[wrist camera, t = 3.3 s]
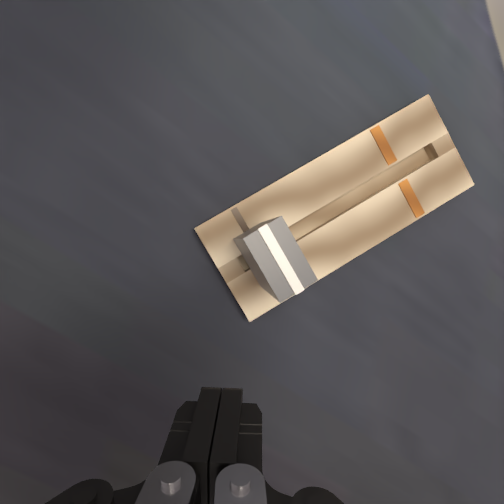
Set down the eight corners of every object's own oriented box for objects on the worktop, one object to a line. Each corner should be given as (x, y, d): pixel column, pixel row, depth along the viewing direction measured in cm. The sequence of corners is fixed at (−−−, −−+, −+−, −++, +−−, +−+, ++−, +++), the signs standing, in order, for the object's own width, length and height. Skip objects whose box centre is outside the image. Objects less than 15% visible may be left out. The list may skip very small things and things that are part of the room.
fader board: (194, 229, 35) (194, 228, 33) (416, 101, 37) (429, 93, 35) (247, 317, 36) (249, 322, 34) (460, 187, 38) (475, 184, 36)
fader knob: (231, 238, 34) (242, 237, 24) (258, 222, 35) (281, 214, 24) (258, 284, 35) (281, 304, 24) (284, 268, 35) (319, 281, 25)
